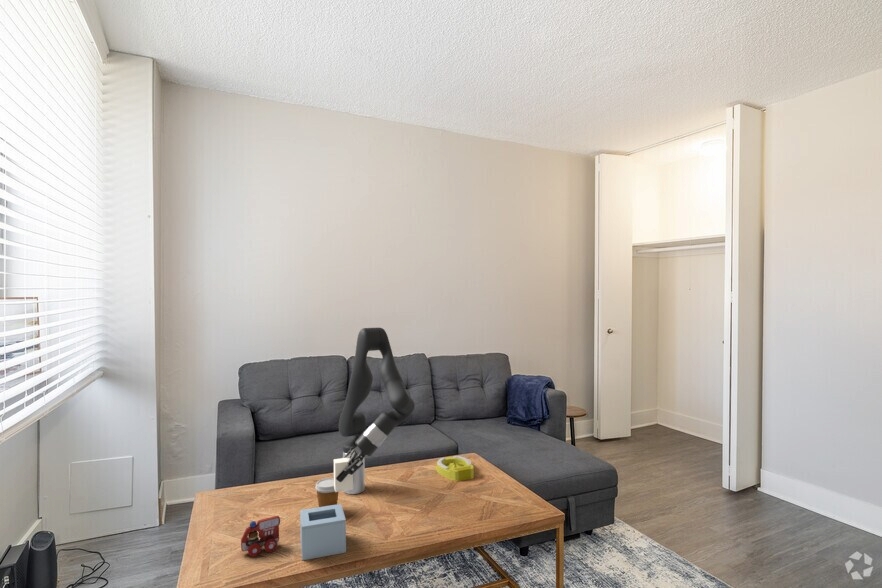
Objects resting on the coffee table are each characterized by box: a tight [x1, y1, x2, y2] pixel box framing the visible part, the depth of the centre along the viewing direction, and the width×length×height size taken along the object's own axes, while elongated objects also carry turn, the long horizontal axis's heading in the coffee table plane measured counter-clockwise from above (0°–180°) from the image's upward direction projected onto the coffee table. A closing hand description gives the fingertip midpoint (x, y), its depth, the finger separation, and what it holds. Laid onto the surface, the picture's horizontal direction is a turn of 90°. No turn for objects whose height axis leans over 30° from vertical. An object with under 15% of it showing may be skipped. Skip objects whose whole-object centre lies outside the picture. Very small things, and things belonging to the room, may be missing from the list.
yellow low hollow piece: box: [436, 455, 475, 482], centre depth 225 cm, size 16×21×5 cm
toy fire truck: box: [240, 515, 281, 557], centre depth 159 cm, size 7×12×10 cm, turn 118°
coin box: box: [299, 503, 347, 561], centre depth 161 cm, size 14×12×11 cm
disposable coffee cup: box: [314, 477, 339, 507], centre depth 185 cm, size 10×10×12 cm
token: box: [333, 457, 353, 493], centre depth 165 cm, size 6×4×10 cm, turn 110°
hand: (337, 477), depth 164 cm, fingers closed on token, 4 cm apart
